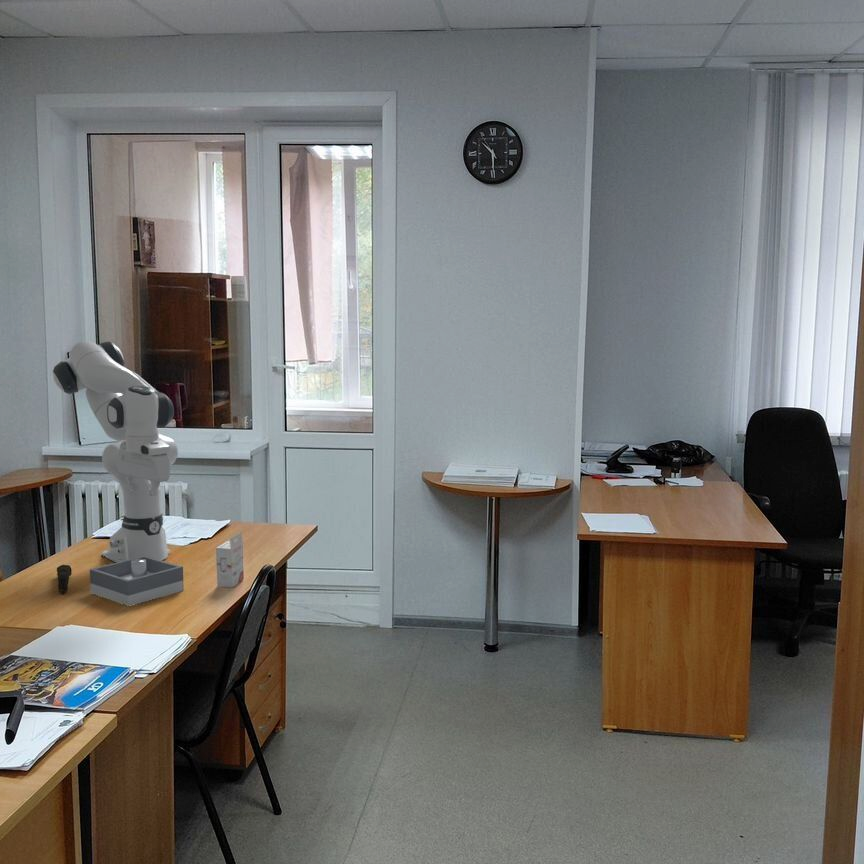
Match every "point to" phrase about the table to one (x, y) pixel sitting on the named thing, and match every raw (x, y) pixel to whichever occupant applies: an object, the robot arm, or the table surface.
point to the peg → (138, 568)
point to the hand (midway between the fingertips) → (143, 492)
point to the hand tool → (63, 577)
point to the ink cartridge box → (230, 562)
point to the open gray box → (136, 581)
